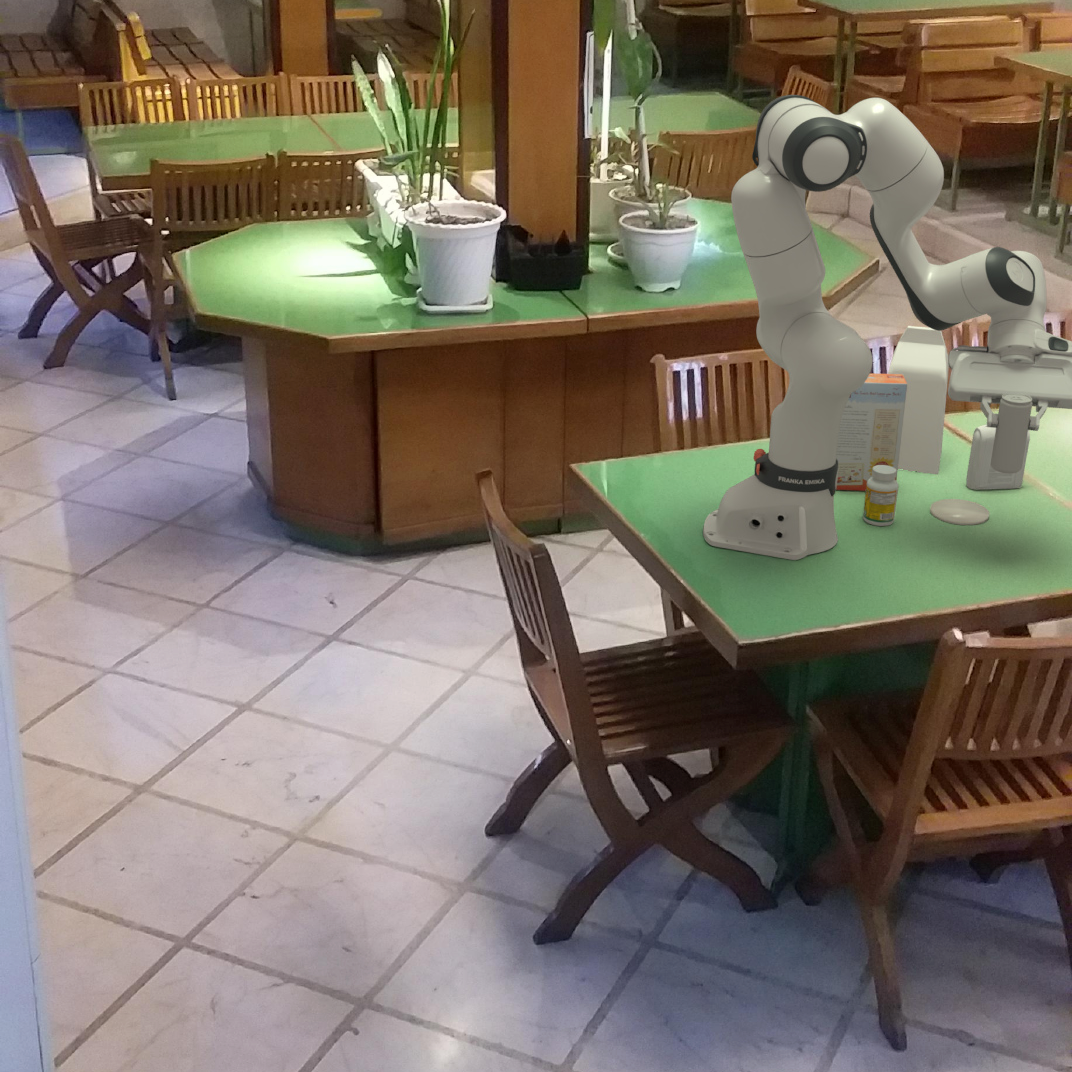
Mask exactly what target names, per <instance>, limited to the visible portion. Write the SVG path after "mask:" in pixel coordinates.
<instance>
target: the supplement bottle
mask: <svg viewBox="0 0 1072 1072" xmlns="http://www.w3.org/2000/svg"><path fill="white" fill-rule="evenodd" d="M895 477H896V469H895V468H893V467H891V466H887V465H876V466H874V467H873V468H872V477H871V478H870V479H869V480H868V481H867V485H866V491H865V494H864V495H865V496H864V506H863V513H862V518H863V519H862V520H863V521H864V522H865V523H867V524H869V525H872V526H876V527H885V526H886V527H887V526H890V525H892V524H893V523H894V521H895V518H896V517H895V515H896V510H897V509H896V508H897V501H898V494H899V493H898V492H899V483H898V481H897V480H895Z"/></svg>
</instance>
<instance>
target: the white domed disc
mask: <svg viewBox="0 0 1072 1072" xmlns="http://www.w3.org/2000/svg"><path fill="white" fill-rule="evenodd" d="M929 512H930V513H929V514H931V516H933V517H934V518H935V519H937V520H940V521H941V522H945V523H948V524H952V525H959V526H975V525H981V524H984V523H986V522H987V521H988V520H989V518H990V511H989V509H988V508H987V507H985V506H984V505H982V504H979V503H977V502H974V501H971V500H966V499H960V498H944V499H939V500H935V501H934V502H932V503H931V505H930V507H929Z"/></svg>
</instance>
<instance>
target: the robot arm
mask: <svg viewBox="0 0 1072 1072" xmlns="http://www.w3.org/2000/svg"><path fill="white" fill-rule="evenodd" d="M754 140H755V141H754V144H753V145H754V146H753V150H752V151H753V152H752V155H751V159H752V161H753V163H754V164H755V166H756V168H754V169H753V170H750V171H748V172H747V173H746V174H744V175H743V176H741V178H739V179H738V181H736V183H735V184H734V186H733V187H732V191H731V199H730V202H731V209H732V215H733V220H734V226H735V230H736V234H737V238H738V242H739V245H740V248H741V251H742V254H743V257H744V261H745V263H746V265H747V268H748V272H749V275H750V277H751V281H752V284H753V287H754V289H755V294H756V298H757V305H758V311H759V312H758V314H759V318H758V320H757V323H756V330H755V331H756V338H757V341H758V343H759V345H760V347H761V349H762V350H763V351H764V353H765V354H766V355H767V357H768V358H769V359H770V360H771V361H772V362H773V363H774V364H776V365H777V366H779V367H781V368H782V369H783V370H785V371H786V372H787V373H788V378H789V383H788V388H787V391H786V393H785V396H784V398H783V401H782V402H780V403H778V405H776V407H775V408H774V409H773V411H772V413H771V418H770V419H771V420H770V428H769V431H770V433H769V444H768V452H767V453H766V451H765V449H763V448H757V449H756V450H755V451H754V453H753V461H754V462H755V464H754V474H752V475H750V476H749V477H747V478H745V479H744V480H741V481H740V482H738V483H736V484H733V486H731V487H729V488H728V489H727V490H726V491H725V493H723V496H722V498H721V500H720V502H719V505H718V509H716V510H713V511H712V512H710V513H709V514H708V515H707V516H706V518H705V520H704V522H703V523H704V524H703V529H702V536H703V538H704V540H705V541H706V542H707V543H708V544H709V545H710V546H713V547H716V548H723V549H728V550H734V551H738V552H739V551H740V552H746V553H751V554H757V555H761V556H767V557H774V558H780V559H784V560H790V561H796V560H801V559H803V558H805V557H807V556H809V555H813V554H818V553H821V552H826V551H828V550H831V549H832V548H833V547H835V546H836V545H837V543H838V541H839V537H838V531H837V528H836V526H837V525H836V519H835V505H834V503H835V502H834V500H835V494H836V491H837V490H836V488H837V480H838V469H839V468H838V460H837V459H836V455H837V447H838V438H839V430H840V423H841V418H842V415H843V411H844V409H845V406H846V403H847V401H848V399H849V397H850V395H851V393H852V392H854V391H856V390H857V389H858V388H860V387H861V386H862V385H863V384H864V382H865V381H866V380H867V378H868V376H869V374H870V373H871V372H872V367H873V354H872V352H871V348H870V347H869V345H868V344H867V343H866V342H865V340H864V339H863V337H862V336H861V335H859V333H858V332H857V331H856V330H855V329H854V328H852V327H851V326H849V325H847V324H845V323H844V322H842V321H840V320H839V319H837V318H836V317H834V316H832V315H831V313H830V312H829V310H827V308H826V306H825V304H824V301H823V296H822V283H823V282H824V280H825V276H826V267H825V263H824V261H823V257H822V254H821V251H820V248H819V245H818V242H817V238H816V235H815V232H814V229H813V226H812V222H811V220H810V217H809V213H808V211H807V207H806V206H807V205H806V195H807V194H806V193H807V191H809V192H814V193H820V192H826V191H829V190H833V189H834V188H836V187H839V186H840V185H841V184H843V183H844V182H846V180H848V179H849V178H851V177H853V176H855V177H856V178H857V179H858V180H859V181H860V183H861V184H862V186H863V187H864V188H865V189H866V190H867V192H868V193H869V195H870V197H871V199H872V205H871V207H870V210H869V221H870V224H871V228H872V231H873V233H874V236H875V237H876V240H877V242H878V244H879V246H880V248H881V250H882V252H883V253H884V255H885V256H886V258H887V260H888V262H889V264H890V266H891V268H892V269H893V271H894V273H895V275H896V277H897V279H898V280H899V282H900V283H901V286H902V287H903V290H904V291H905V293H906V296H907V300H908V303H909V306H910V308H911V311H912V313H913V315H914V317H915V318H916V319H917V320H918V321H919V322H920V323H921V324H922V325H924V326H925V327H927V328H932V329H934V330H938V331H941V332H942V331H944V330H947V329H949V328H951V327H954V326H956V325H959V324H961V323H962V322H965V321H969V320H972V319H975V318H978V317H982V316H983V315H987V316H988V317H990V324H989V326H988V329H987V340H986V341H987V346H979V345H978V346H977V345H973V346H969V345H965V344H960V345H958V346H957V347H953V348H952V349H951V350H950V351H948V352H949V353H948V365H949V368H950V370H951V373H950V377H949V379H948V380H949V381H948V385H947V396H948V397H949V398H950V399H951V401H953V402H955V401H956V402H968V403H980V407H979V409H980V411H981V412H982V413H983V415H984V416H985V418H986V424H987V427H992V428H997V425H998V413H995V412H993V411H992V408H991V407H990V406H991V404H995V405H996V404H997V405H1000V400H1001V398H1002V395H1003V394H1007V395H1021V396H1025V395H1028V396H1030V397H1031V398H1032V407H1035V412H1036V415H1035V416H1032V415H1030V421H1029V427H1028V430H1029V431H1034V432H1035V431H1036V432H1038V431H1039V430H1040V425H1041V424H1040V423H1041V422H1040V420H1041V419H1042V417H1043V416H1044V415H1045V413H1046V411H1047V409H1048V408H1051V409H1066V410H1072V341H1071V340H1070V339H1069V340H1068V339H1065V338H1063V337H1059V336H1057V335H1054V334H1052V333H1049V332H1048V331H1047V332H1046V326H1045V322H1044V317H1045V314H1046V311H1047V302H1048V301H1047V299H1048V298H1047V283H1046V282H1047V281H1046V275H1045V270H1044V266H1043V263H1042V261H1041V260H1040V259H1039V257H1037V256H1036V255H1035V254H1033V253H1031V252H1028V251H1025V250H1011V251H1010V250H1008V249H1006V248H1004V247H1001V246H995V247H991V248H987V249H984V250H981V251H977V252H975V253H971V254H970V255H967V256H965V257H963V258H959V259H957V260H954V261H951V262H949V263H945V264H935V263H934V264H933V263H930V262H929V260H928V259H927V257H926V255H925V253H924V251H923V250H922V248H921V245H920V244H919V242H918V241H917V238H916V236H915V234H914V232H913V229H912V228H913V227H914V226H915V225H916V223H918V222H919V221H920V220H921V219H922V218H923V217H924V216H925V215H926V214H928V212H929V211H930V210H931V209H932V207H933V206H934V204H935V203H936V201H937V200H938V198H939V196H940V193H942V192H941V191H942V189H943V185H944V179H945V178H944V177H945V171H944V166H943V164H942V161H941V159H940V157H939V155H938V154H937V152H936V151H935V150H934V148H933V147H932V146H931V144H930V142H929V141H928V140H927V139H926V137H925V136H924V135H923V133H921V132H920V129H918V128H917V127H916V126H915V124H914V123H913V122H912V121H911V120H910V119H909V118H908V117H907V116H906V115H905V114H903V113H902V112H901V111H900V110H899V108H898V107H896V106H894V105H893V104H892V103H891V102H889V101H888V100H886V99H884V98H881V97H870V98H866V99H863V100H860V101H858V102H857V103H855V104H854V105H852V106H851V107H850V108H849V109H848V110H847V111H846V112H844V113H841V114H834V113H833V112H831V111H830V110H829V109H827V108H826V107H824V106H822V105H821V104H819V103H817V102H815V100H812V99H811V98H810V97H807V96H804V95H800V94H799V95H798V94H787V95H782V96H778V97H777V98H775V99H773V100H771V101H770V102H769V103H768V104H767V105H766V106H765V107H764V108H763V110H762V111H761V113H760V115H759V117H758V121H757V123H756V130H755V139H754Z"/></svg>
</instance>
